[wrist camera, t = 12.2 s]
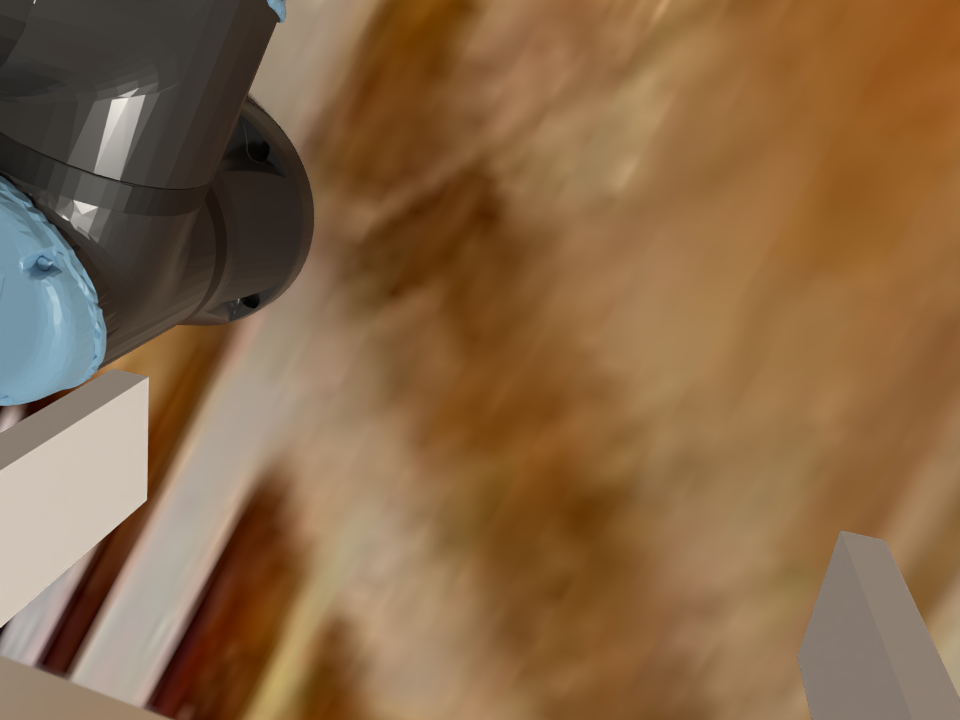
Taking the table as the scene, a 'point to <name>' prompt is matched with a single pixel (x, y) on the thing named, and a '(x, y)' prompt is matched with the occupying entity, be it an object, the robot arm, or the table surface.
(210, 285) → the robot arm
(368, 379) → the table surface
